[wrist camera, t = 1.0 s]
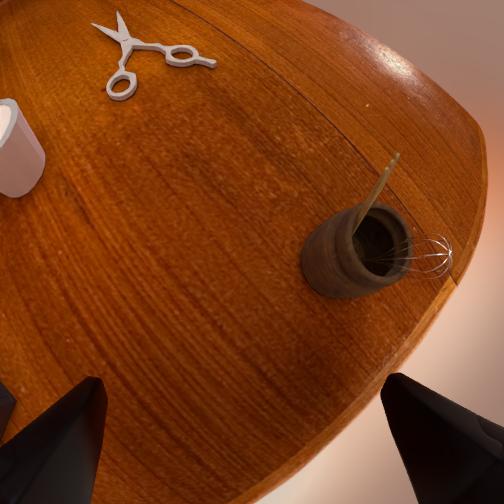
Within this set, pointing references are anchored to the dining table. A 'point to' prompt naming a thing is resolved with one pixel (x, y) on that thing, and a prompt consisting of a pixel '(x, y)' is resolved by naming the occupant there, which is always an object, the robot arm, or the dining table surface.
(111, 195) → the dining table surface
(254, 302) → the dining table surface
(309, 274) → the utensil holder
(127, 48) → the scissors
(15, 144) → the shot glass
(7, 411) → the baking tray
